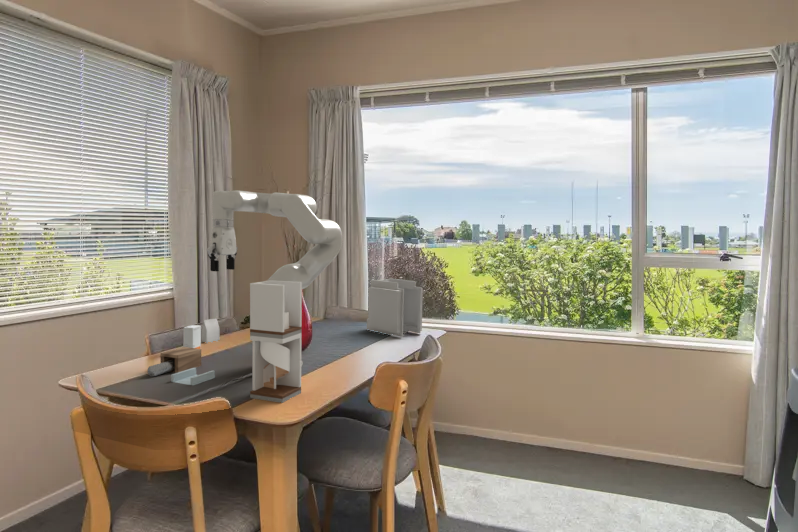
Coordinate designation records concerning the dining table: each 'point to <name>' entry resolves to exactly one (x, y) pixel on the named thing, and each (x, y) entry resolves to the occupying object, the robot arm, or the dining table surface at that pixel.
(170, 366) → the axle
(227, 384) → the dining table surface
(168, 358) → the hollow wooden box
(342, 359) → the dining table surface
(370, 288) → the grey file holder
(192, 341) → the skincare box
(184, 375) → the cradle
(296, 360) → the spiral staircase model
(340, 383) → the dining table surface
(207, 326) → the light grey block
